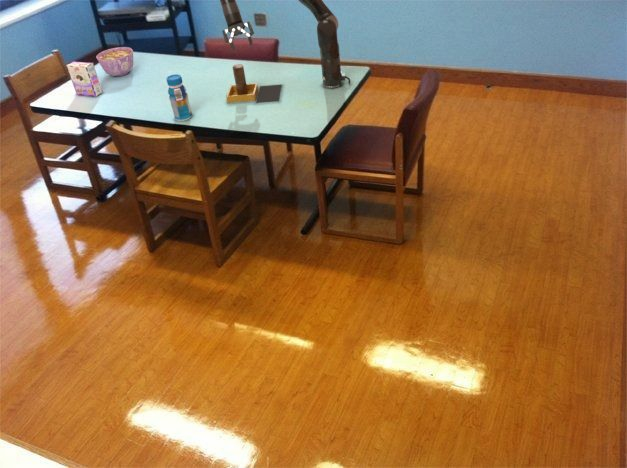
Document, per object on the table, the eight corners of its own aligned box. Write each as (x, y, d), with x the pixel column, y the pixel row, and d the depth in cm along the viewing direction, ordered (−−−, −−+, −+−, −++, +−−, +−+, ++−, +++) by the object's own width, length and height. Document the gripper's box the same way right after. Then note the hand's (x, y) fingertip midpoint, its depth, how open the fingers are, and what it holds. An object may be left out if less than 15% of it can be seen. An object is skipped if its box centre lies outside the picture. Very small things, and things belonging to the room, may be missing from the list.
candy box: (103, 92, 316) (93, 62, 306) (96, 97, 312) (85, 66, 302) (83, 90, 322) (73, 60, 312) (76, 95, 317) (65, 65, 308)
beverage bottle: (171, 120, 280) (160, 80, 268) (180, 112, 286) (170, 72, 274) (186, 122, 277) (176, 81, 265) (195, 114, 283) (186, 73, 271)
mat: (282, 85, 301) (281, 84, 301) (278, 102, 285) (278, 101, 285) (260, 87, 302) (260, 86, 302) (256, 104, 286) (255, 103, 286)
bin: (258, 89, 299) (257, 83, 297) (255, 101, 288) (254, 94, 286) (231, 91, 300) (230, 85, 298) (227, 103, 290) (226, 96, 288)
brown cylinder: (248, 92, 296) (243, 63, 287) (247, 97, 292) (242, 67, 283) (238, 93, 296) (233, 64, 288) (237, 98, 292) (231, 68, 283)
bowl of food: (133, 78, 328) (127, 58, 321) (98, 82, 329) (91, 61, 323) (142, 65, 344) (136, 45, 337) (108, 68, 346) (102, 48, 339)
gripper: (216, 17, 281) (227, 52, 285) (244, 8, 279) (255, 42, 283) (219, 18, 288) (230, 52, 292) (247, 9, 286) (258, 43, 290)
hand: (242, 47), depth 288 cm, fingers open, 8 cm apart
